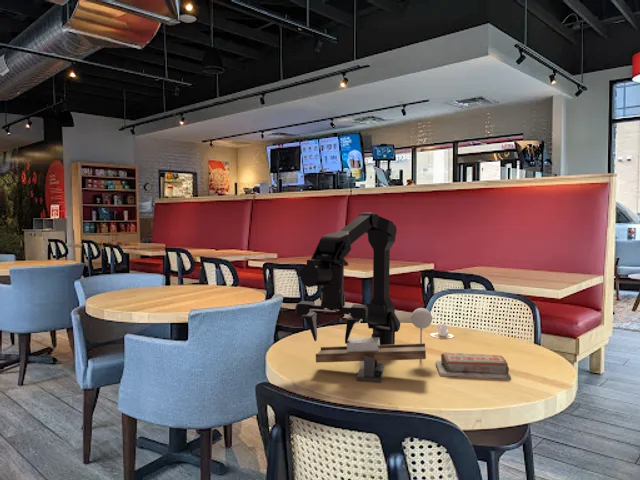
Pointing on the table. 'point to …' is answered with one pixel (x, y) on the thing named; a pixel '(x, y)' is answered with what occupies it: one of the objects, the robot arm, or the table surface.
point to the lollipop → (421, 319)
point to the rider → (363, 345)
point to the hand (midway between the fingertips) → (330, 342)
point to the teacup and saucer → (442, 331)
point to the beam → (373, 353)
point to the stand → (370, 370)
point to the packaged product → (473, 366)
